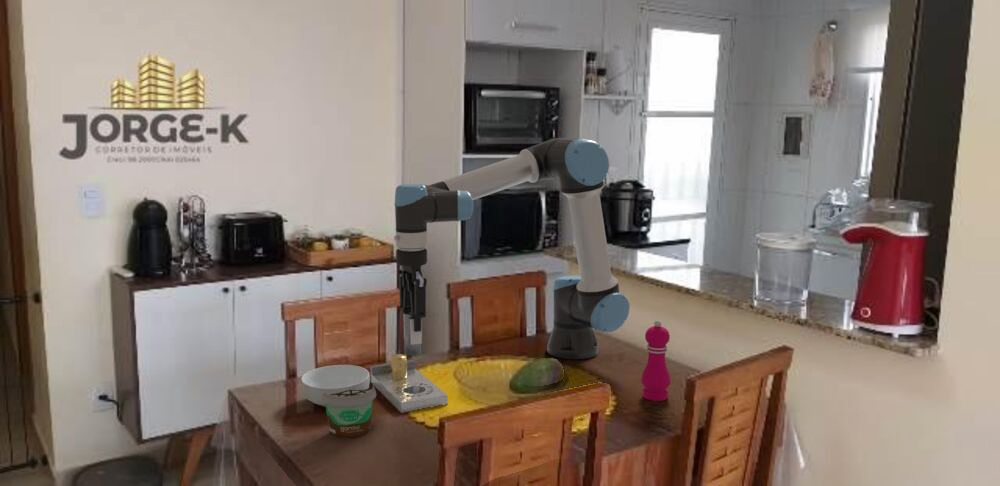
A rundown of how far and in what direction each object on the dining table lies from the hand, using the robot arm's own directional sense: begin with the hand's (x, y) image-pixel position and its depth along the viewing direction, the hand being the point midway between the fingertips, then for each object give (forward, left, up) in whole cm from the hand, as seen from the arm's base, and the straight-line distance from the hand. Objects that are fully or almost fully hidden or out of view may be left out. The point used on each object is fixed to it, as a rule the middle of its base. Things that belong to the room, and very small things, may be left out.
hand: (412, 340), depth 198 cm
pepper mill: (-55, +26, -15) cm, 63 cm away
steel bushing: (0, 0, -3) cm, 3 cm away
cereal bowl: (+18, -7, -16) cm, 25 cm away
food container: (+20, +14, -16) cm, 29 cm away
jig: (0, -5, -15) cm, 16 cm away
